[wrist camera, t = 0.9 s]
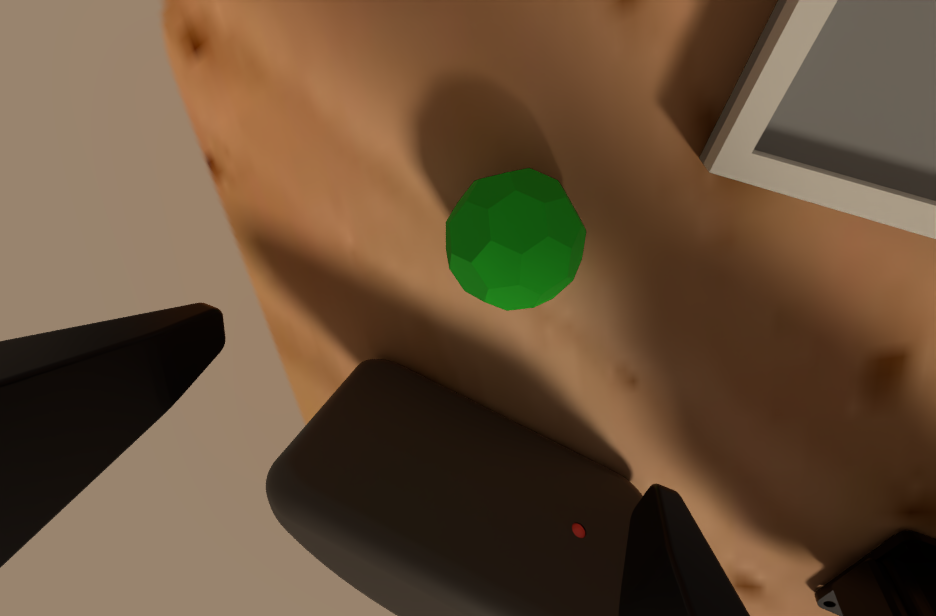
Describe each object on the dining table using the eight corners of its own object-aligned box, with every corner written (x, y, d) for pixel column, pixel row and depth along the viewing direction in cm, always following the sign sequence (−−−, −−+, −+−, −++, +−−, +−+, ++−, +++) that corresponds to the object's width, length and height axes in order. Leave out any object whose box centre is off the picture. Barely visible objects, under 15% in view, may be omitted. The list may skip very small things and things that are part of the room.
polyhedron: (469, 151, 17) (423, 179, 13) (598, 161, 16) (589, 196, 12) (467, 267, 20) (427, 320, 16) (578, 284, 19) (566, 345, 15)
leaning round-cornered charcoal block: (356, 397, 26) (243, 541, 18) (372, 341, 24) (248, 481, 16) (608, 524, 25) (601, 738, 17) (653, 480, 22) (668, 706, 15)
